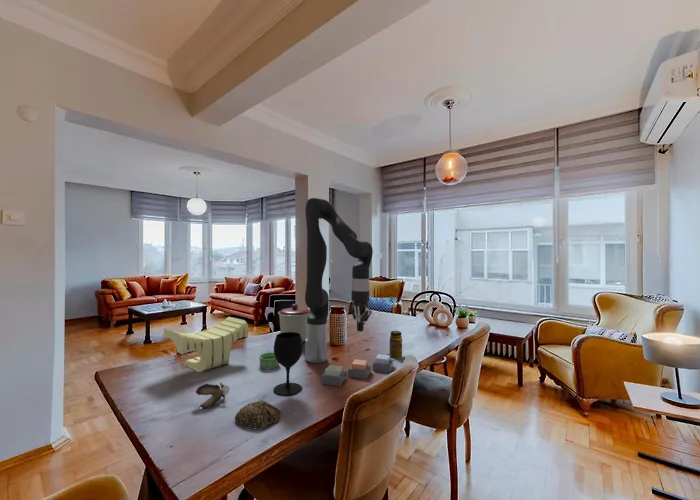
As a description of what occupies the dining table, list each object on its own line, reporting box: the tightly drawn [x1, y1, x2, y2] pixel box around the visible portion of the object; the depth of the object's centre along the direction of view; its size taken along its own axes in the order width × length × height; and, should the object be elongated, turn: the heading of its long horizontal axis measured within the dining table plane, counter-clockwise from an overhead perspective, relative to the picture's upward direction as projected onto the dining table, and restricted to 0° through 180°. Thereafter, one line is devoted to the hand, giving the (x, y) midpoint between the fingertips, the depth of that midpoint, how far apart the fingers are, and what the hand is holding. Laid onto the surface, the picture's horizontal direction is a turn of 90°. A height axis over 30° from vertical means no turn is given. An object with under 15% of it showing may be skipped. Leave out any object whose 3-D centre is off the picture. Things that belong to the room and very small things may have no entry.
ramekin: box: [258, 352, 280, 369], centre depth 137 cm, size 9×9×4 cm
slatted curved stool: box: [163, 316, 249, 373], centre depth 137 cm, size 30×16×18 cm, turn 144°
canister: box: [277, 303, 310, 343], centre depth 174 cm, size 18×18×21 cm
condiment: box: [386, 330, 405, 361], centre depth 151 cm, size 7×8×12 cm
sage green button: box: [324, 364, 344, 377], centre depth 122 cm, size 5×5×3 cm
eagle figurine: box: [195, 382, 230, 410], centre depth 103 cm, size 8×7×9 cm
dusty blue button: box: [375, 354, 390, 365], centre depth 136 cm, size 5×5×3 cm
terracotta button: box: [351, 358, 369, 370], centre depth 129 cm, size 5×5×3 cm
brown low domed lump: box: [234, 399, 282, 430], centre depth 94 cm, size 13×12×5 cm
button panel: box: [320, 358, 394, 387], centre depth 129 cm, size 11×36×3 cm, turn 123°
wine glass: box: [272, 332, 304, 397], centre depth 114 cm, size 10×10×20 cm
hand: (360, 330), depth 129 cm, fingers closed
